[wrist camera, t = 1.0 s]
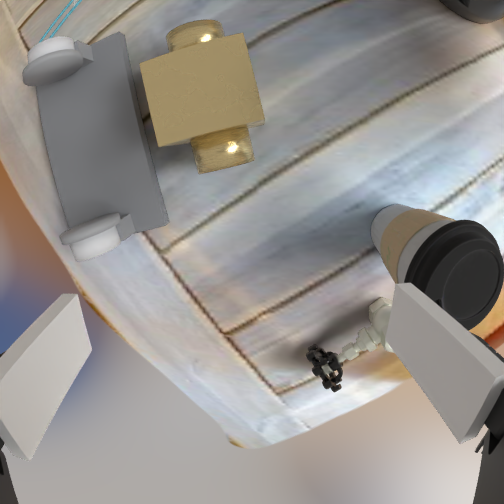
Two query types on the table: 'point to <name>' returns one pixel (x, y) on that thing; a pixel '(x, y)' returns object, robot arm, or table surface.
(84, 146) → the pipe run plate
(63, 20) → the adjustable wrench
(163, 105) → the brass gate valve
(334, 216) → the table surface
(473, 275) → the coffee cup
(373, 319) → the valve
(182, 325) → the table surface
